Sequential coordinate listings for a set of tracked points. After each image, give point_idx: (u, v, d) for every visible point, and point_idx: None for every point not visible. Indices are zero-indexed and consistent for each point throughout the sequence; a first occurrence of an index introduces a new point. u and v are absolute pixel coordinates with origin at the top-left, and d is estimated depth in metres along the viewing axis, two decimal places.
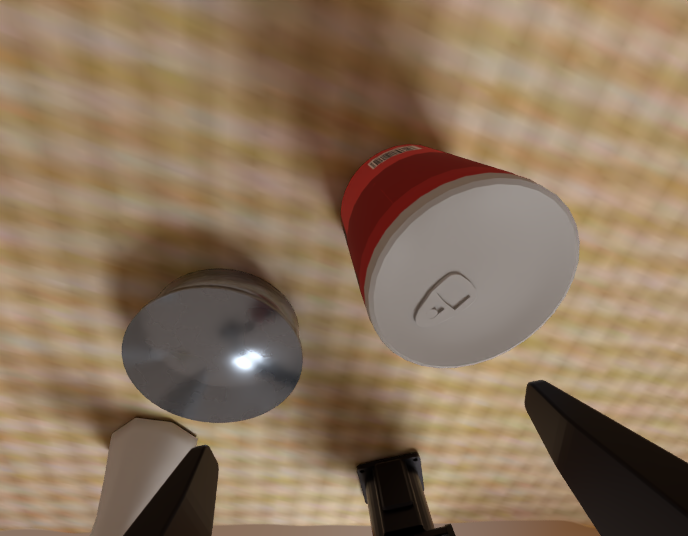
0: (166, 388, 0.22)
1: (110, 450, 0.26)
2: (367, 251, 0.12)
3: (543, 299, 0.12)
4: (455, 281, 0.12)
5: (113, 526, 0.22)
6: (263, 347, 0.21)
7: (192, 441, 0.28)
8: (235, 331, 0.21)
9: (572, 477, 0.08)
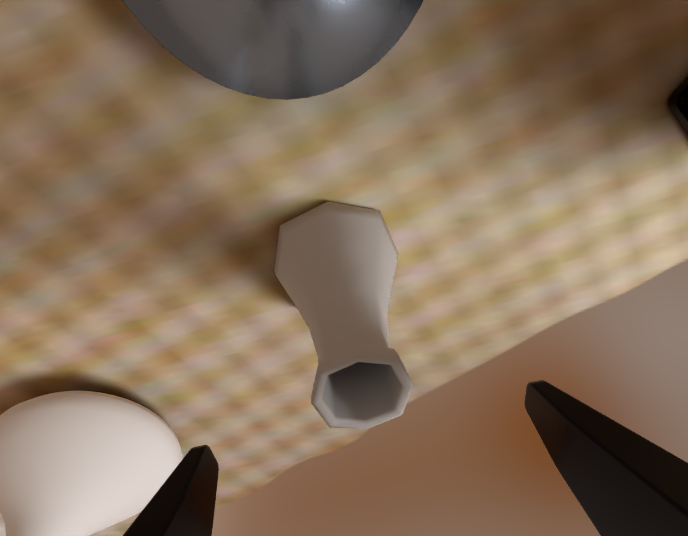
0: (240, 38, 0.11)
1: (281, 279, 0.17)
2: None
3: None
4: None
5: (335, 309, 0.12)
6: None
7: (374, 213, 0.17)
8: None
9: (572, 477, 0.08)
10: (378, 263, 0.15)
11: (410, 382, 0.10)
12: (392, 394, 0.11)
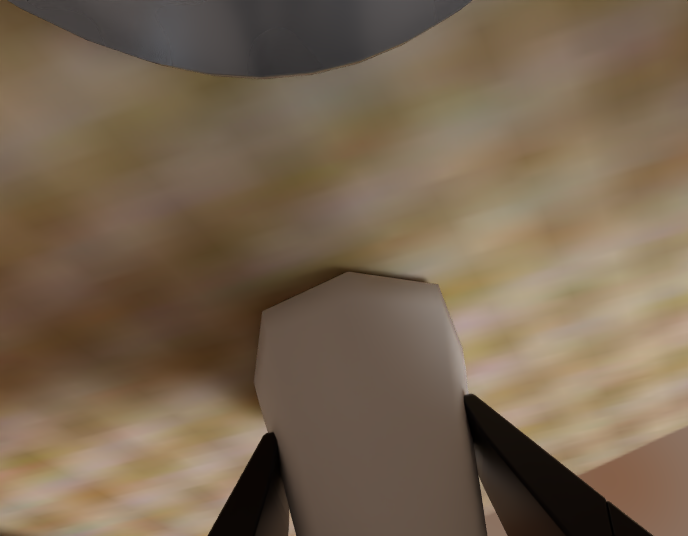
0: None
1: (263, 410, 0.10)
2: None
3: None
4: None
5: None
6: None
7: (431, 292, 0.10)
8: None
9: (492, 493, 0.08)
10: (459, 425, 0.07)
11: None
12: None
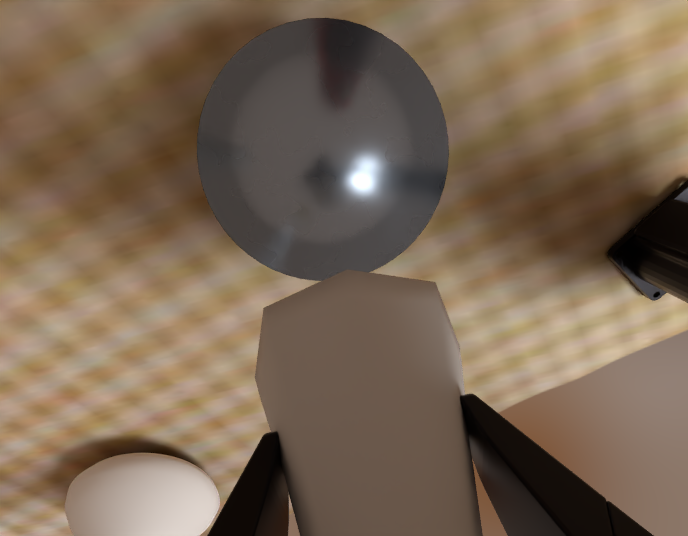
0: (300, 248, 0.16)
1: (265, 405, 0.10)
2: None
3: None
4: None
5: None
6: (366, 99, 0.14)
7: (428, 290, 0.10)
8: (316, 98, 0.14)
9: (492, 493, 0.08)
10: (454, 417, 0.07)
11: None
12: None
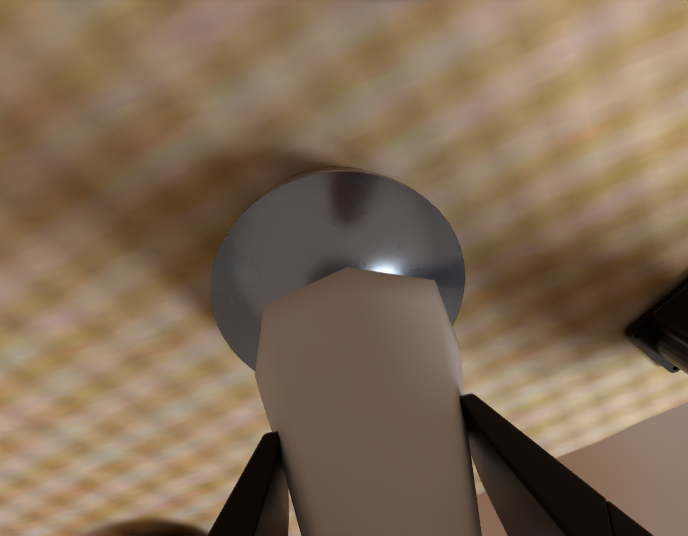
0: None
1: (265, 401, 0.10)
2: None
3: None
4: None
5: None
6: (381, 238, 0.14)
7: (428, 287, 0.10)
8: (329, 241, 0.13)
9: (492, 493, 0.08)
10: (453, 413, 0.07)
11: None
12: None
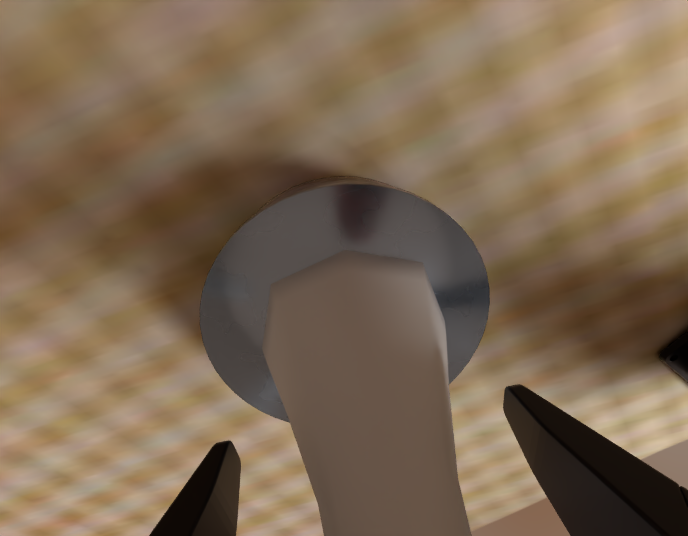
0: None
1: (272, 369, 0.11)
2: None
3: None
4: None
5: (373, 507, 0.06)
6: None
7: (416, 268, 0.11)
8: None
9: (546, 482, 0.08)
10: (434, 369, 0.09)
11: None
12: None
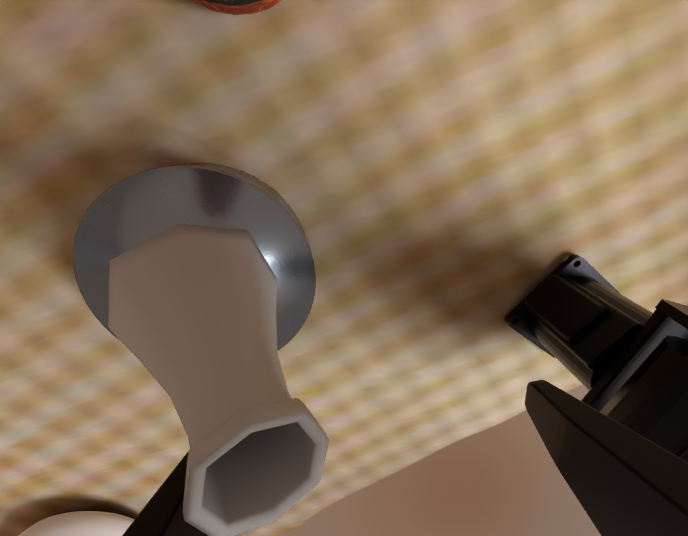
0: None
1: (120, 335, 0.12)
2: None
3: None
4: None
5: (205, 362, 0.09)
6: (227, 227, 0.15)
7: (242, 233, 0.14)
8: None
9: (573, 477, 0.08)
10: (256, 291, 0.12)
11: (325, 436, 0.08)
12: (303, 458, 0.08)
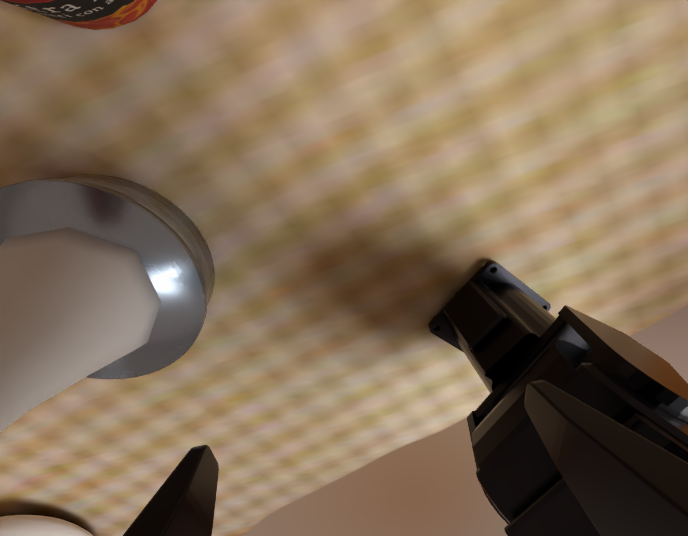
0: None
1: None
2: None
3: None
4: None
5: None
6: (101, 238, 0.15)
7: (124, 254, 0.15)
8: None
9: (572, 477, 0.08)
10: (65, 318, 0.12)
11: None
12: None
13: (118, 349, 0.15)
